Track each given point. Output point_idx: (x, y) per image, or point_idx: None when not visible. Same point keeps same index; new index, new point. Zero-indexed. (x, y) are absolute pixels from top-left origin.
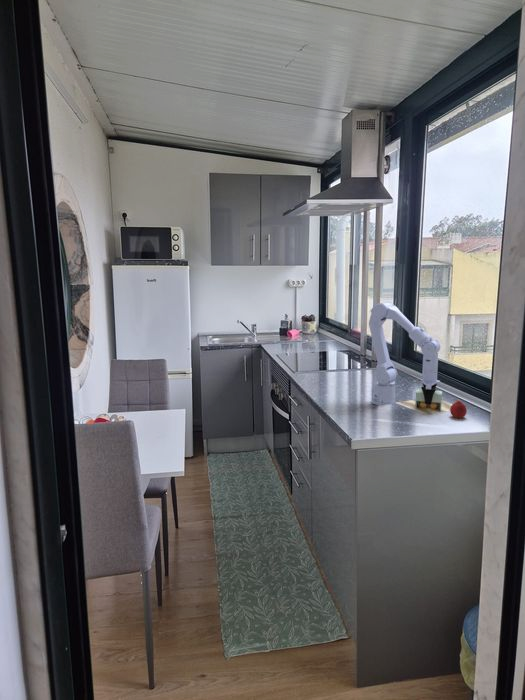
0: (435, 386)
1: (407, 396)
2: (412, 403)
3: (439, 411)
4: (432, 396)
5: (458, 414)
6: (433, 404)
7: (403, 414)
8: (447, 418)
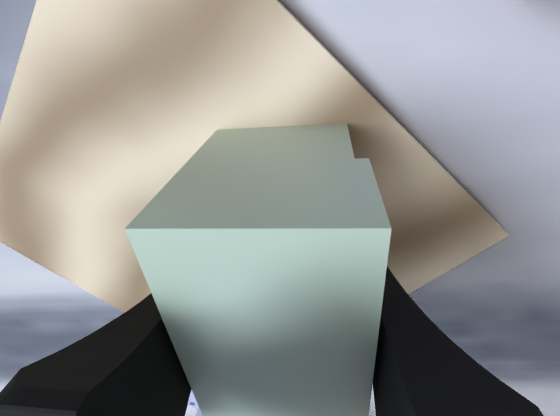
0: (116, 374)
1: (46, 328)
2: None
3: (368, 137)
4: (426, 319)
5: None
6: None
7: None
8: (519, 33)
